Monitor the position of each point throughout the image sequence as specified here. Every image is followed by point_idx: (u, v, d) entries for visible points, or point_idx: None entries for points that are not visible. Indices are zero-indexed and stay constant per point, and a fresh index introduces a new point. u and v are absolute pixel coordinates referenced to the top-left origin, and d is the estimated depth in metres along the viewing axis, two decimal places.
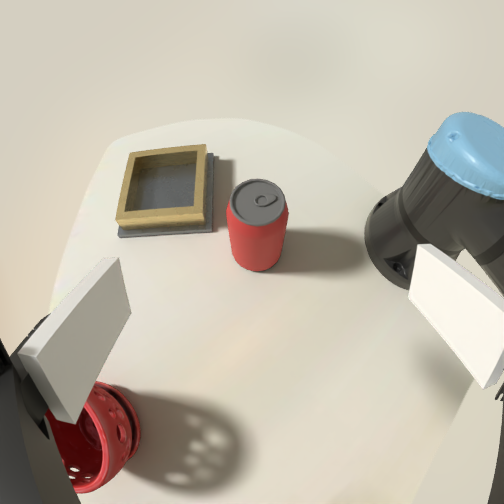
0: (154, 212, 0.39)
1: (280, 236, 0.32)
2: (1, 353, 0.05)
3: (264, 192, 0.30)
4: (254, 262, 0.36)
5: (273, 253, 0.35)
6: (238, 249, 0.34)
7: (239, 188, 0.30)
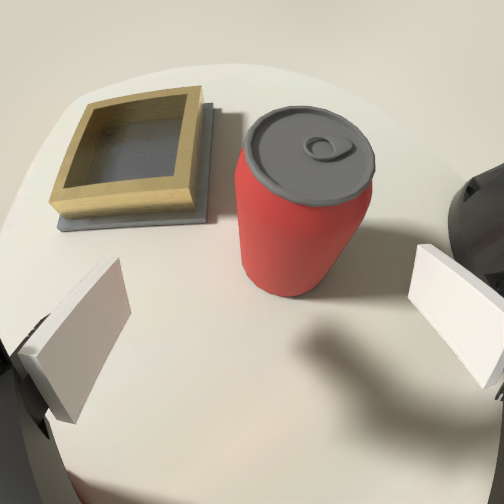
0: (107, 188, 0.21)
1: (352, 234, 0.14)
2: (1, 353, 0.05)
3: (323, 132, 0.12)
4: (288, 283, 0.18)
5: (327, 267, 0.17)
6: (257, 259, 0.16)
7: (265, 120, 0.12)
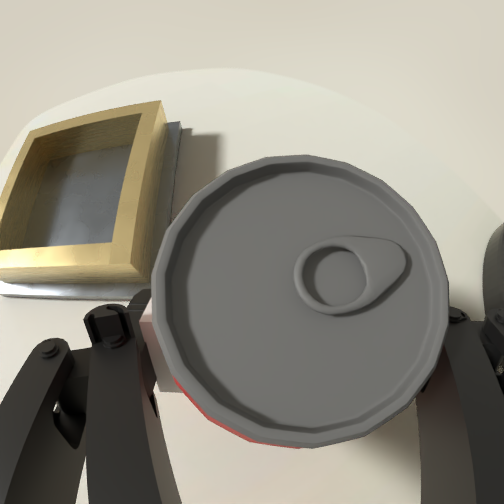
0: (34, 256, 0.14)
1: None
2: (123, 325, 0.07)
3: (341, 224, 0.06)
4: None
5: None
6: None
7: (208, 201, 0.06)
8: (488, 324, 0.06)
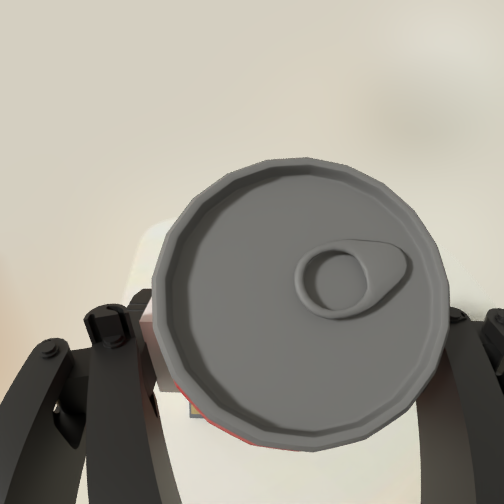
0: None
1: None
2: (123, 325, 0.07)
3: (342, 227, 0.06)
4: None
5: None
6: None
7: (209, 204, 0.06)
8: (488, 324, 0.06)
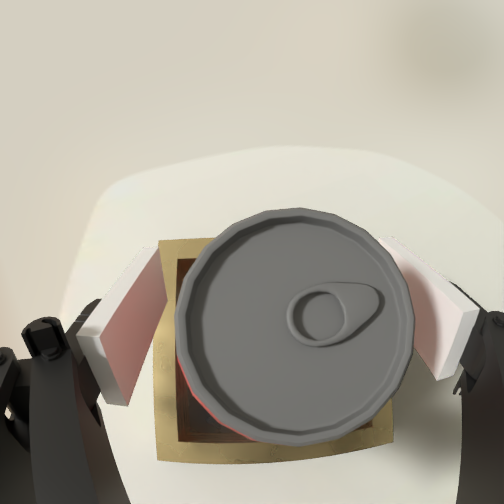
0: (270, 451, 0.12)
1: None
2: (58, 337, 0.06)
3: (327, 269, 0.07)
4: None
5: None
6: None
7: (218, 252, 0.07)
8: None
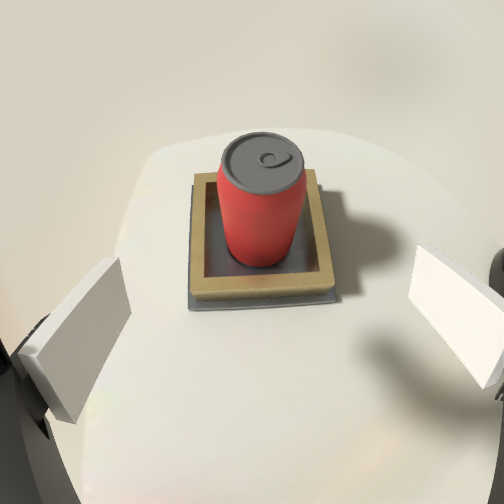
0: (258, 281, 0.25)
1: (295, 214, 0.22)
2: (1, 353, 0.05)
3: (271, 149, 0.20)
4: (257, 253, 0.26)
5: (284, 241, 0.25)
6: (234, 235, 0.24)
7: (235, 143, 0.20)
8: None
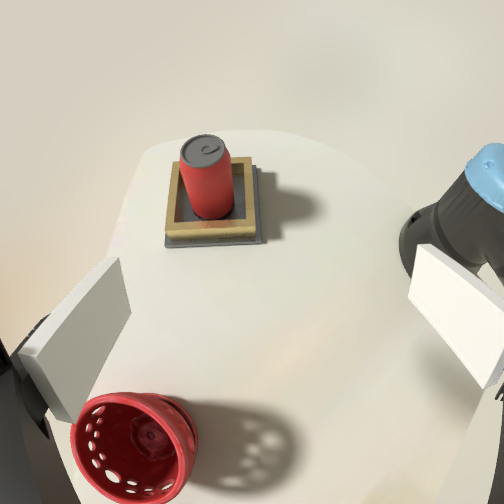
0: (206, 224, 0.41)
1: (224, 180, 0.37)
2: (1, 353, 0.05)
3: (209, 143, 0.35)
4: (206, 207, 0.41)
5: (221, 199, 0.40)
6: (191, 195, 0.39)
7: (189, 141, 0.35)
8: None
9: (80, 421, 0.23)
